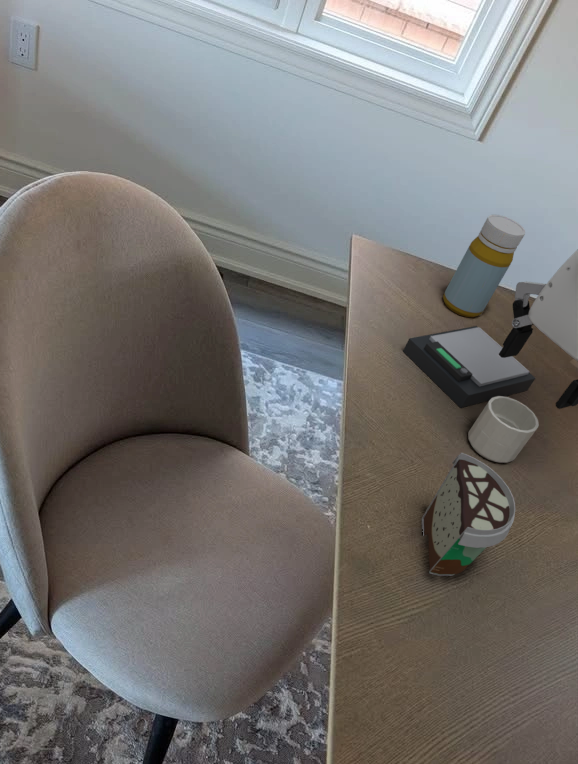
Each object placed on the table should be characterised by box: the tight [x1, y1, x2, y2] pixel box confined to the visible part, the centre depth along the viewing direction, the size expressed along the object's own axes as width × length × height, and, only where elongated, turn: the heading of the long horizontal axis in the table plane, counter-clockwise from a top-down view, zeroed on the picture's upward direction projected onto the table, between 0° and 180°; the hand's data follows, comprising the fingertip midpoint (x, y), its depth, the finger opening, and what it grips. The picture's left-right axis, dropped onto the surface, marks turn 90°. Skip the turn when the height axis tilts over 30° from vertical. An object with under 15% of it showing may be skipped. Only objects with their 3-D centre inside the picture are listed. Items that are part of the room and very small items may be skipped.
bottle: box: [442, 214, 526, 318], centre depth 121 cm, size 7×7×15 cm
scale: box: [402, 325, 537, 409], centre depth 111 cm, size 15×13×4 cm
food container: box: [421, 452, 516, 577], centre depth 81 cm, size 12×6×10 cm, turn 170°
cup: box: [467, 396, 540, 464], centre depth 99 cm, size 7×7×6 cm
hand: (534, 379), depth 92 cm, fingers open, 9 cm apart
